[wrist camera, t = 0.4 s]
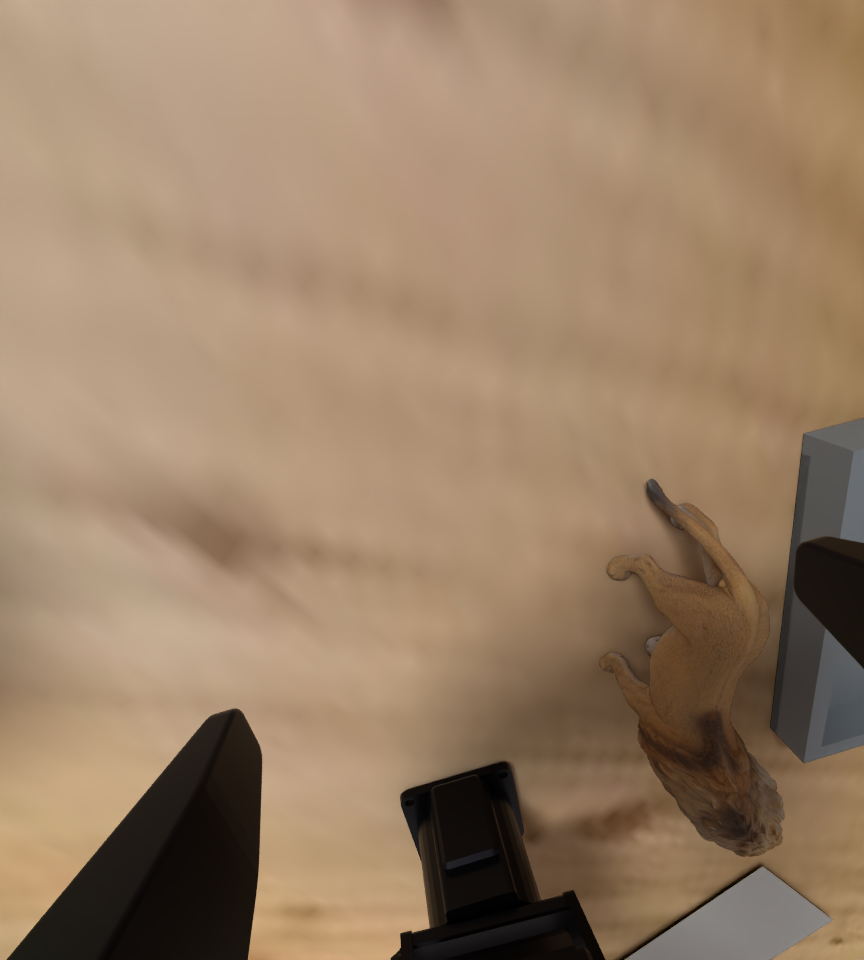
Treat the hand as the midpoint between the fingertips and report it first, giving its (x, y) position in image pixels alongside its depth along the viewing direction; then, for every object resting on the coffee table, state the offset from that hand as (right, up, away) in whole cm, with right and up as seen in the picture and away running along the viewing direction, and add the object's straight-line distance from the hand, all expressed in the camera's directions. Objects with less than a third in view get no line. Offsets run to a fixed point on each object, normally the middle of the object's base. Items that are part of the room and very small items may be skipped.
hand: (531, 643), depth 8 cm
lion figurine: (+10, -4, +18) cm, 21 cm away
